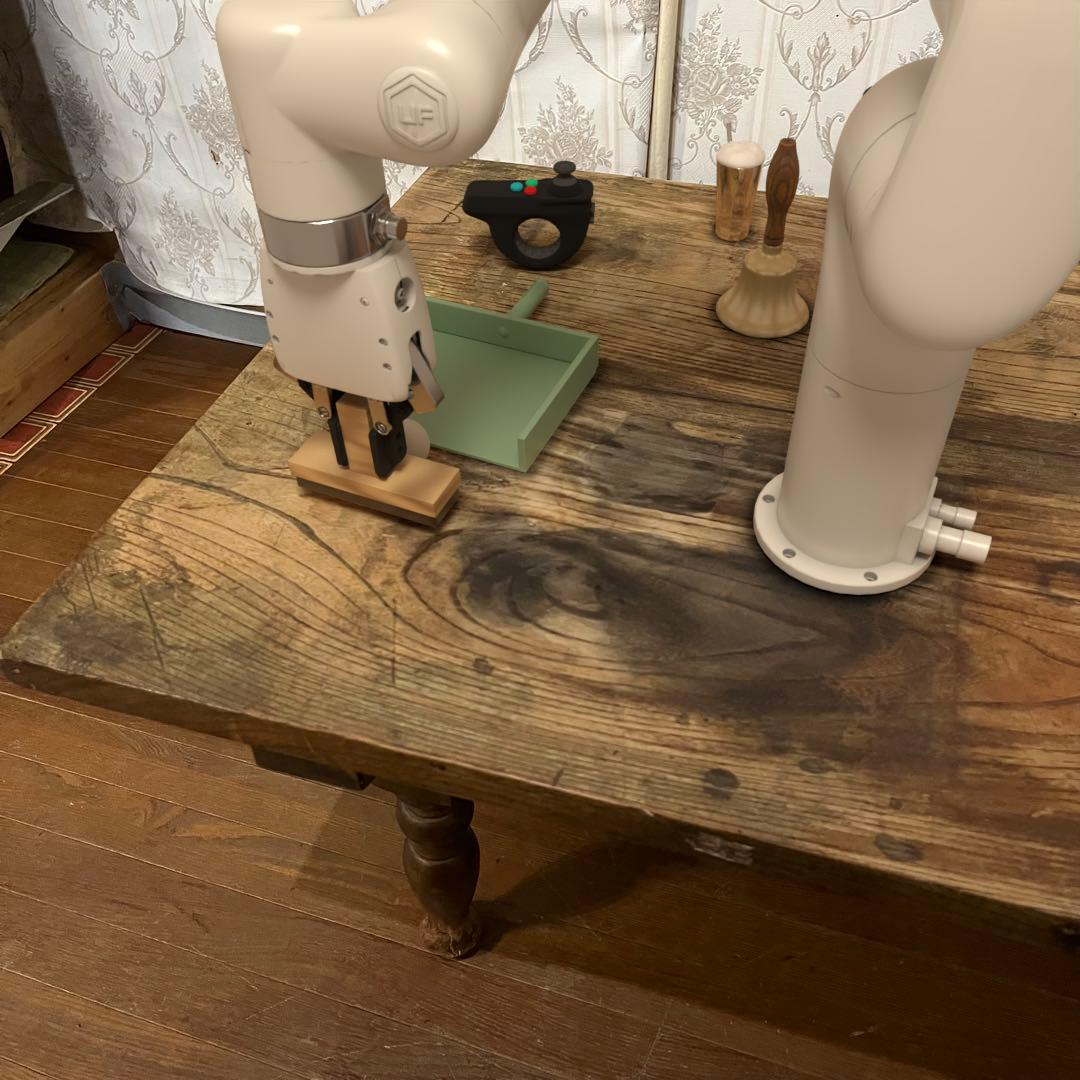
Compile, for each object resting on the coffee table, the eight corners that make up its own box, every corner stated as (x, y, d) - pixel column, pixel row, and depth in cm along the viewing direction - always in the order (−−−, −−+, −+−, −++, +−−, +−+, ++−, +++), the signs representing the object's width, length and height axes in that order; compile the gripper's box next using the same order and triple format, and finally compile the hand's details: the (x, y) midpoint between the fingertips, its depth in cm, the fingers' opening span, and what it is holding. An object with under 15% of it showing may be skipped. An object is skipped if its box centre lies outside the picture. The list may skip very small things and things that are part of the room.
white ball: (412, 450, 75) (420, 487, 78) (434, 413, 78) (441, 450, 81) (363, 438, 76) (373, 475, 79) (387, 402, 79) (395, 439, 82)
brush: (463, 495, 75) (452, 400, 69) (437, 530, 73) (423, 435, 67) (323, 455, 79) (301, 361, 73) (294, 487, 76) (269, 393, 70)
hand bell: (828, 317, 92) (863, 143, 81) (759, 350, 89) (785, 172, 78) (764, 278, 97) (788, 108, 86) (696, 307, 94) (712, 135, 83)
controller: (593, 276, 98) (594, 176, 91) (465, 274, 99) (456, 175, 92) (595, 253, 101) (596, 154, 94) (470, 251, 102) (462, 153, 95)
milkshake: (738, 215, 106) (750, 118, 99) (762, 240, 102) (776, 141, 95) (698, 223, 105) (706, 126, 98) (720, 248, 101) (731, 149, 94)
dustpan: (526, 473, 79) (524, 439, 76) (334, 419, 84) (327, 386, 82) (631, 320, 93) (632, 288, 91) (462, 283, 98) (459, 251, 96)
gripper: (477, 215, 61) (496, 455, 74) (251, 171, 66) (306, 403, 79) (415, 279, 56) (447, 523, 69) (176, 226, 61) (248, 463, 74)
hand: (372, 457), depth 74 cm, fingers closed on brush, 2 cm apart
